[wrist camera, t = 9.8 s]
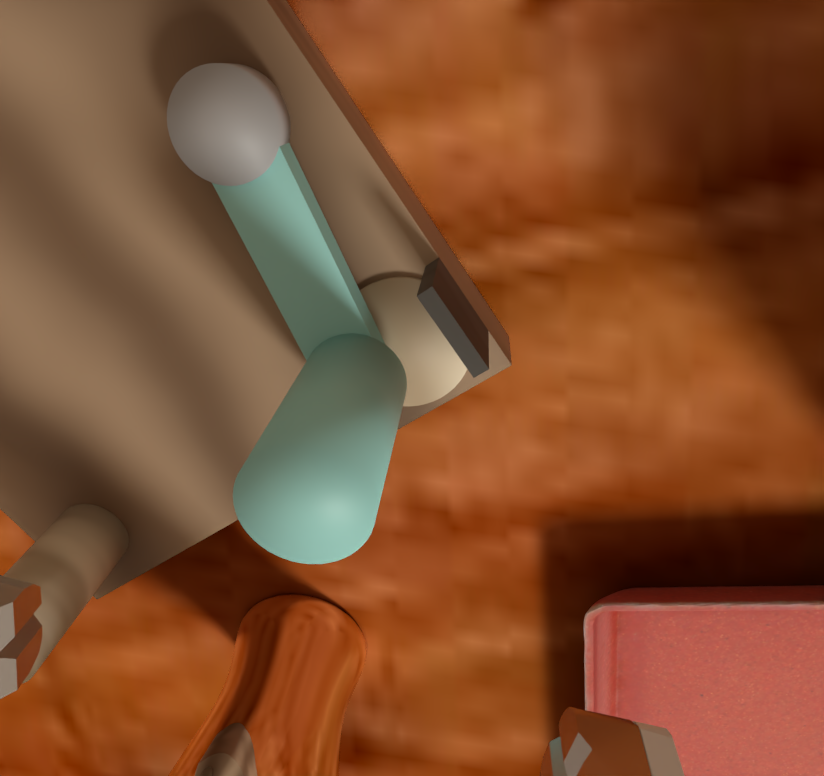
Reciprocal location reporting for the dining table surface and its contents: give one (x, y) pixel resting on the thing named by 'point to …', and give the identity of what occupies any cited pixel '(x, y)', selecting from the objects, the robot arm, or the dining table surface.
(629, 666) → the plant saucer
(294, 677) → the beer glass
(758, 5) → the dining table surface
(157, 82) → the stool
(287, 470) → the folding leg
